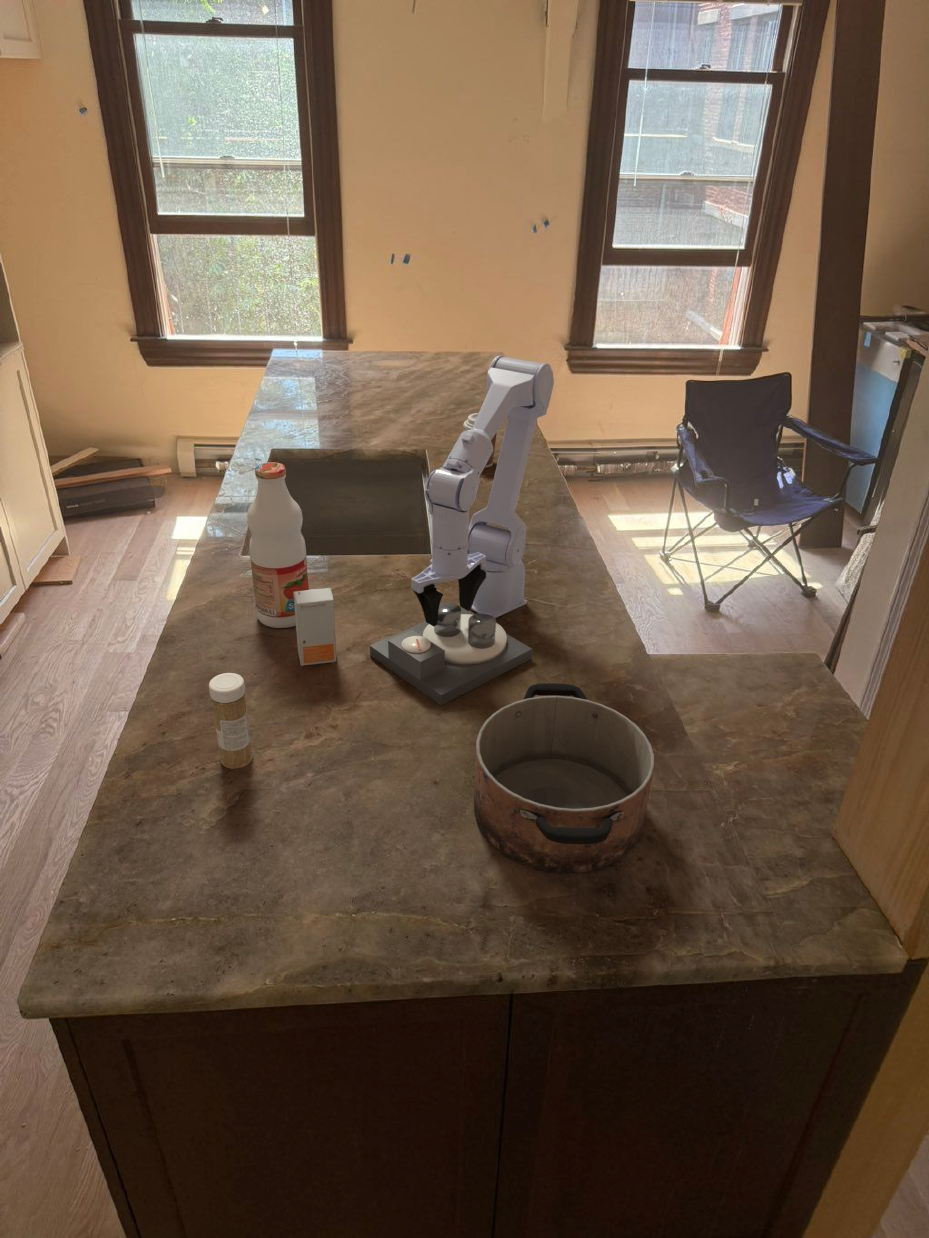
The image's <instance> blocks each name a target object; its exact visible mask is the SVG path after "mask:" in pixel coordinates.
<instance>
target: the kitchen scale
mask: <svg viewBox="0 0 929 1238" xmlns="http://www.w3.org/2000/svg"><path fill="white" fill-rule="evenodd" d="M458 606H459V607H460V605H458ZM460 608H461V630H460V633H459V634H458V635H456V636H453V637H442V636H439V635H437V634H436V633H435V632H434V626H432V625H430V624H428V623H427V622H426V620H425V621H423V622H421V623H418V624H416V625H413V626H411V627H408V628H407V629H404V630H402V631H400V632H398V633H395V634H393V635H391V636H388V637H386V638H383V639H381V640H379V641H377V642H374V643H371V644H370V645H369V656H370V655H371V656H372V658H373V657H374V658H375V659H374V658H373V659H374V660H375V661H377V662H379V663H380V664H381V663H382V664H381V665H383V666H384V665H385V666H384V667H385V668H387V669H388V668H389V670H390V671H391V672H392V673H394V674H395V673H396V674H395V675H397V676H398V675H399V677H400V678H402V679H403V680H404V681H405V682H407V683H408V684H409V685H411V684H412V685H411V686H413V688H415V687H416V689H417V690H418V691H420V692H421V693H422V694H423V695H425V696H427V697H429V698H430V699H431V700H432V701H434V702H436V703H437V704H438V705H440V706H443V705H445V704H447V703H449V702H451V701H453V700H455V699H456V698H459V697H460V695H461V696H463V695H464V694H466V693H468V692H470V691H472V690H474V689H476V688H478V687H480V686H482V685H483V684H486V683H488V682H489V681H491V680H493V679H495V678H498V677H499V676H501V675H503V674H505V673H507V672H509V671H511V670H513V669H514V668H517V667H518V666H520V665H523V664H524V663H527V662H528V661H530V660H532V657H533V656H532V655H533V648H531V647H530V646H528V645H527V644H525V643H523V642H521V641H520V640H518V639H516V638H515V637H512V636H511V635H510V634H508V633H506V630H505V629H504V628H503V627H502V626H501V625H500V624H499V623H497V622H496V632H495V644H494V645H493V646H492V647H490V648H485V649H479V648H475V647H472V646H471V645H469V643H468V621H469V618H470V617H471V616H472V615H475V614H474V613H472V612H470V611H467V610H465V609H464V608H462V607H460ZM371 656H370V657H371ZM462 694H463V695H462Z"/></svg>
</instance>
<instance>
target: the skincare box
mask: <svg viewBox="0 0 929 1238" xmlns="http://www.w3.org/2000/svg"><path fill="white" fill-rule="evenodd" d="M293 593H294V605H295V619H296V626H295V630H296V645H297V653H298V659H299V662H300V663H299V665H300V666H301V667H303V666H311V665H319V664H327V663H328V664H329V663H336V662H337V644H336V643H337V641H336V638H337V637H336V622H335V620H336V617H335V615H336V614H335V600H334V599H335V598H334V596H333V592H332V588H331V587H326V588H311V589H309V590H305V591H295V592H293Z"/></svg>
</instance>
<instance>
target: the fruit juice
mask: <svg viewBox="0 0 929 1238" xmlns="http://www.w3.org/2000/svg"><path fill="white" fill-rule="evenodd" d="M254 475H255V479H256V480H257V491H256V494H255V499H254V500H253V502H252V503H251V504H250V505H249V506H248V510H247V512H246V523H247V526H248V527H247V528H249V532H250V534H251V537H250V539H249V559H250V568H251V575H252V585H253V586H252V587H253V593H254V602H255V603H254V604H255V612H256V616H257V618H258V620H259V622H260V623H261V624H262V625H263V626H266V627H270V628H274V629H286V628H287V629H288V628H293V627H296V619H295V605H294V593H293V592H295V591H305V590H310V589H309V577H308V576H309V574H308V561H307V560H308V558H307V549H306V547H307V546H306V541H305V538H304V536H303V533H302V531H301V530H302V526H303V520H304V519H303V511H302V509H301V507H300V506H299V504H298V503H297V501H296V500H295V499H293V497H292V496H291V494H290V492H289V490H288V487H287V483H286V480H285V479H286V477H287V470H286V466H285V465H284V464H283V463H280V462H275V461H274V462H273V461H272V462H264V463H260V464H257V465H256V466H255V468H254Z"/></svg>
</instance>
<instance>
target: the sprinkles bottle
mask: <svg viewBox="0 0 929 1238" xmlns="http://www.w3.org/2000/svg"><path fill="white" fill-rule="evenodd" d="M208 688H209V689H208V691H209V696H210V698H211V700H212V701H211V702H212V708H213V713H214V715H213V716H214V725H215V731H216V737H217V743H218V747H219V755H220V757H219V761H220V764H222V766H224V767H225V768H227V769H241V768H244V767H246V766H248V765H249V764H250V763H251V762H252V760H253V757H254V755H253V754H254V753H253V751H252V745H251V730H250V724H249V723H250V722H249V717H248V708H247V704H246V703H247V702H246V697H245V693H246V686H245V680H244V678H243V677H242V675H240V674H239V673H234V672H225V673H224V672H223V673H221V674H217V675H215V676H213V677H212V679H210V681H209V683H208Z"/></svg>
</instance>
